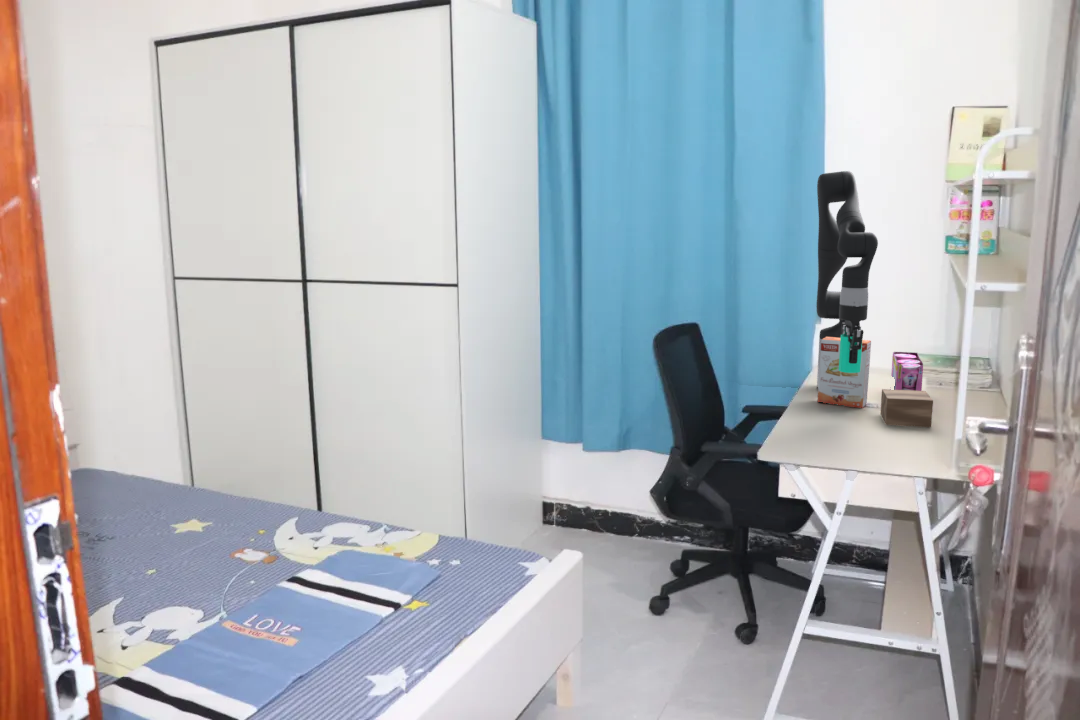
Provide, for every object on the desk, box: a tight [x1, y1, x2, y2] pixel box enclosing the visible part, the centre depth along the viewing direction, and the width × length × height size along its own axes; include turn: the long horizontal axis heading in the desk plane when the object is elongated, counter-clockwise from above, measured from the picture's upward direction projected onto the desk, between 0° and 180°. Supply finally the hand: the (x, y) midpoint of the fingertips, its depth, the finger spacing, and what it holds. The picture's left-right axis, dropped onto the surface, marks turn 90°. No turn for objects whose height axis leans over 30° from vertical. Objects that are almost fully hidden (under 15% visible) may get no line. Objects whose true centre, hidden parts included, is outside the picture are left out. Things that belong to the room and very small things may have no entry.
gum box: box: [890, 351, 924, 391], centre depth 266 cm, size 24×8×14 cm, turn 160°
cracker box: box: [817, 337, 872, 409], centre depth 260 cm, size 14×6×21 cm, turn 56°
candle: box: [839, 334, 862, 373], centre depth 239 cm, size 6×6×12 cm
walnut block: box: [879, 388, 934, 428], centre depth 241 cm, size 12×12×8 cm
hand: (850, 360), depth 239 cm, fingers closed on candle, 5 cm apart
